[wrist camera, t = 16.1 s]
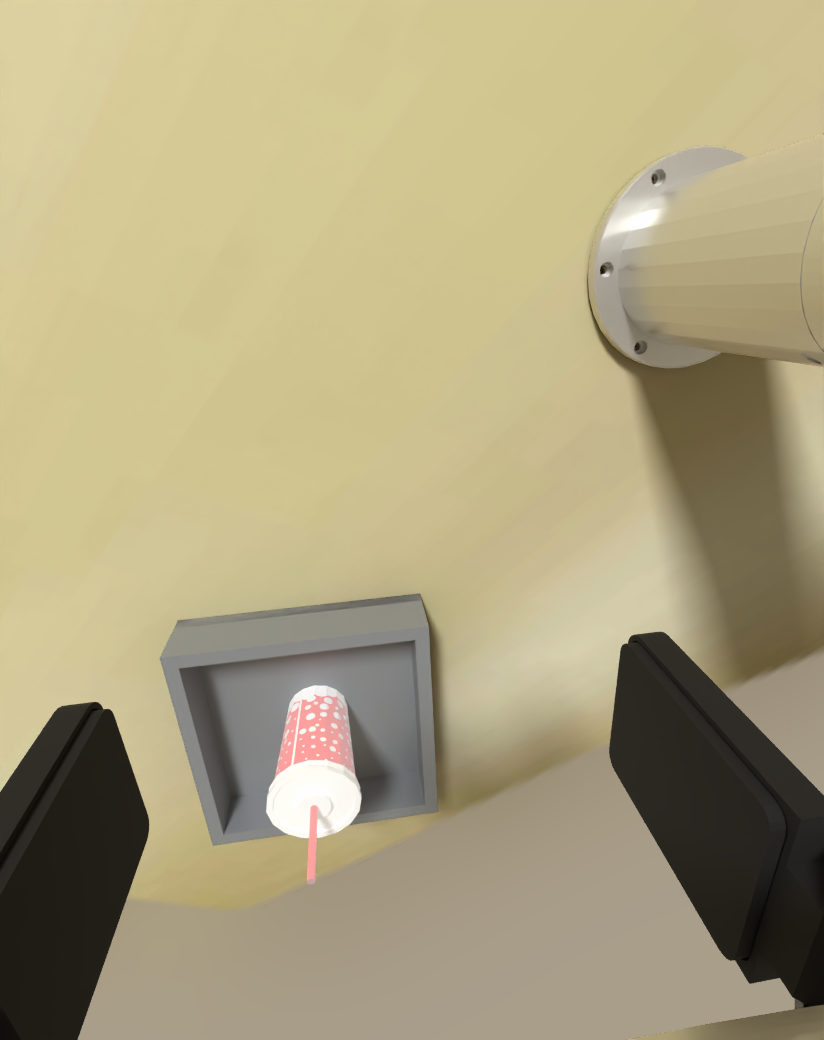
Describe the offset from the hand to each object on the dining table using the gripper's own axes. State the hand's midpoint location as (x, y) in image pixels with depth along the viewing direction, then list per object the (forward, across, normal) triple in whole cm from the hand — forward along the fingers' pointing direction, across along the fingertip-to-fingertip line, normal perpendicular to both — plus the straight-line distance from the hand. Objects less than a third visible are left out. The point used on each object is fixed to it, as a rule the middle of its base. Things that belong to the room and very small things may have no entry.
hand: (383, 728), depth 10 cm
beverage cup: (+28, +5, +23) cm, 36 cm away
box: (+28, +5, +23) cm, 37 cm away
